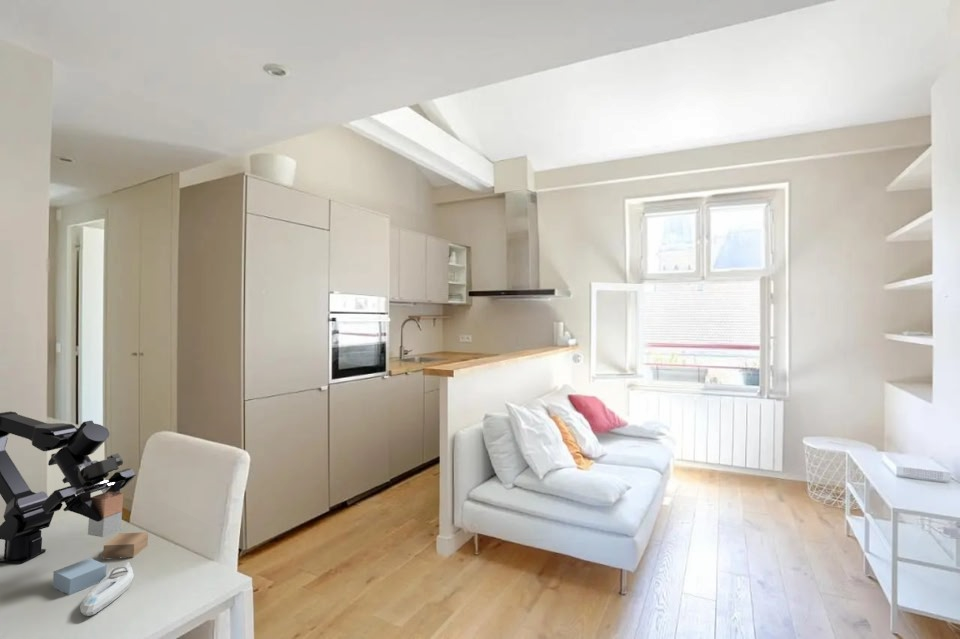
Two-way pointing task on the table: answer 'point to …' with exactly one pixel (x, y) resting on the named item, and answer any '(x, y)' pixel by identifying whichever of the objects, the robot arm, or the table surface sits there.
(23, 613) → the table surface
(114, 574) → the spaceship
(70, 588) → the stand
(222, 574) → the table surface
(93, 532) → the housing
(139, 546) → the stand
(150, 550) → the table surface
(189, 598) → the table surface
